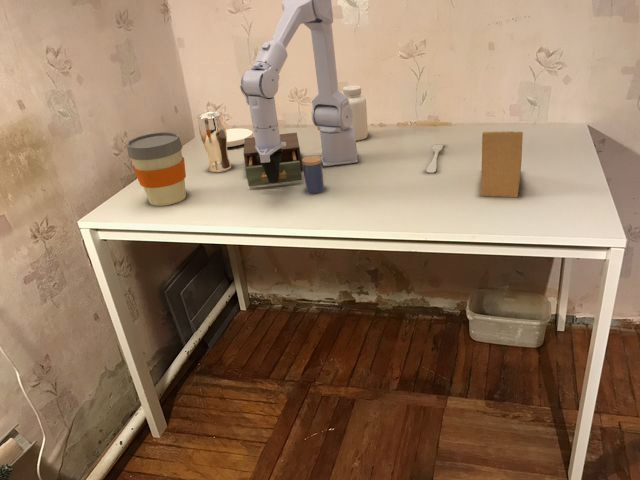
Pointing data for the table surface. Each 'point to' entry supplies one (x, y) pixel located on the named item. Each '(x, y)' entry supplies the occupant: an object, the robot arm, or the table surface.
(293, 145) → the cabinet
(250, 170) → the drawer
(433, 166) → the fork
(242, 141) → the plastic lid
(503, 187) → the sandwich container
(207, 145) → the beer glass
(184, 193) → the reusable coffee cup
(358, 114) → the pill bottle
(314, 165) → the jar
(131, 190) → the table surface
